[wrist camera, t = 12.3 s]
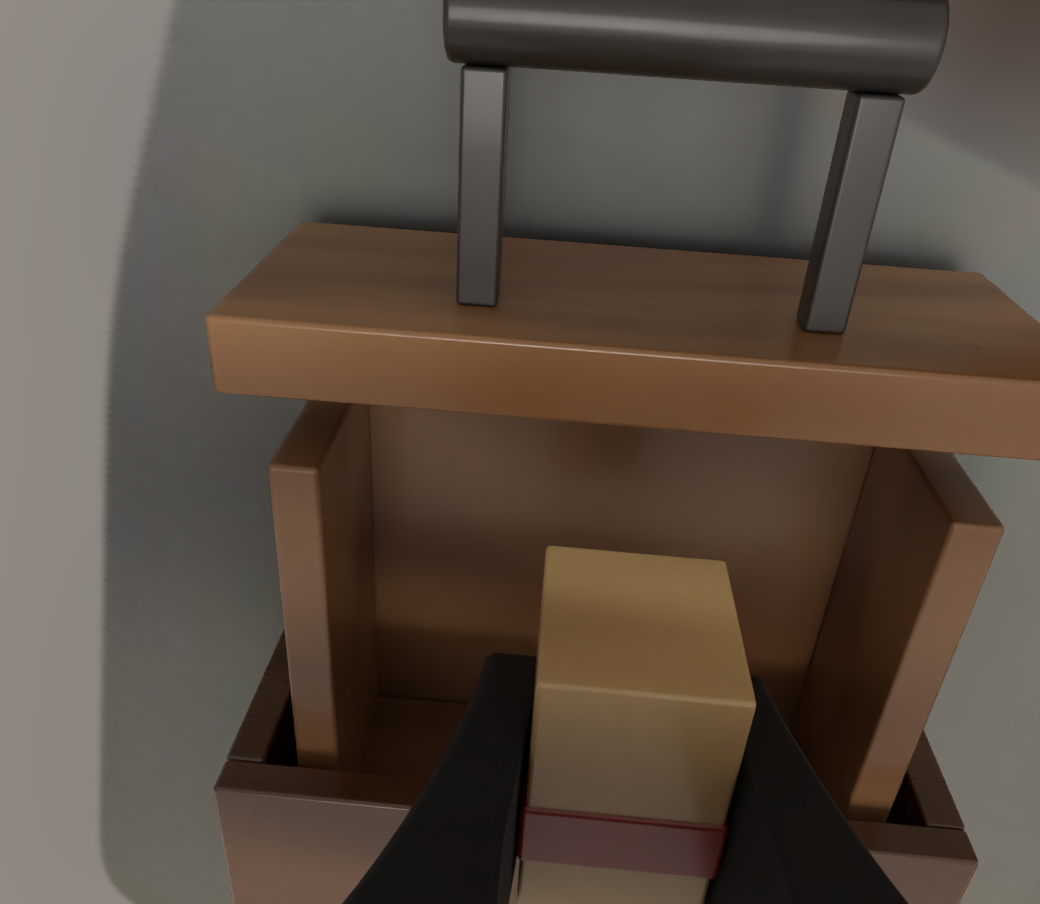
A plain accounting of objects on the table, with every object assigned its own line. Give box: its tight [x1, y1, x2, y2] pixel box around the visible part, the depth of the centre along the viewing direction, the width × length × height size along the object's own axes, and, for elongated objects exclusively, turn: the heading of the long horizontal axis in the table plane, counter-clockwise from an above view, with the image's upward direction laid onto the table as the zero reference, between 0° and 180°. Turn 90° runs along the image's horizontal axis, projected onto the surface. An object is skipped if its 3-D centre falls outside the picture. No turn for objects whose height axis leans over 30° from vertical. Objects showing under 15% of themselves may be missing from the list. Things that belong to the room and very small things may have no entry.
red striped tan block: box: [516, 546, 756, 904], centre depth 12 cm, size 5×2×3 cm, turn 177°
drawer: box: [205, 0, 1040, 823], centre depth 16 cm, size 16×12×5 cm
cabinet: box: [214, 630, 978, 904], centre depth 21 cm, size 12×13×6 cm
